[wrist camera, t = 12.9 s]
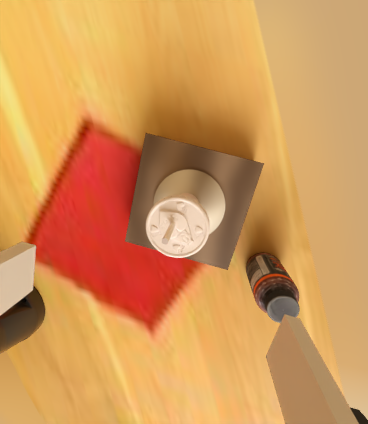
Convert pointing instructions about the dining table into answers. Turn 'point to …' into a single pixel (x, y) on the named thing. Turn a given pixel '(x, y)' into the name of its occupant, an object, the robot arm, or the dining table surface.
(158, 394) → the dining table surface
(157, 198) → the stand
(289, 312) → the supplement bottle
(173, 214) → the white drink cup
